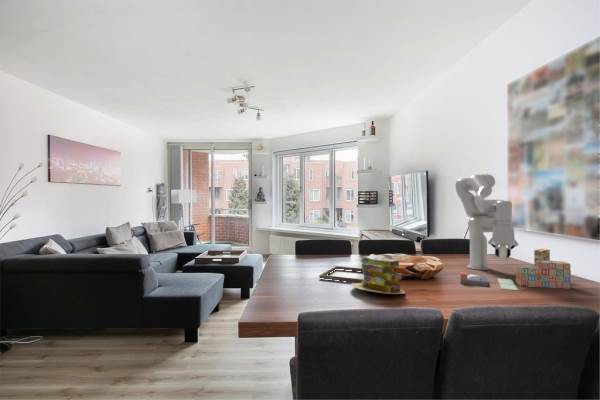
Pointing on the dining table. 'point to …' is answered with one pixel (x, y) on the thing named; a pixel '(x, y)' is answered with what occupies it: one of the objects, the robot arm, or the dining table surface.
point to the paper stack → (379, 275)
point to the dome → (474, 277)
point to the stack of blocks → (544, 274)
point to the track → (507, 284)
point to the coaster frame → (324, 275)
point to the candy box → (541, 255)
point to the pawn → (502, 252)
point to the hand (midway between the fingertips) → (502, 256)
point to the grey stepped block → (473, 282)
